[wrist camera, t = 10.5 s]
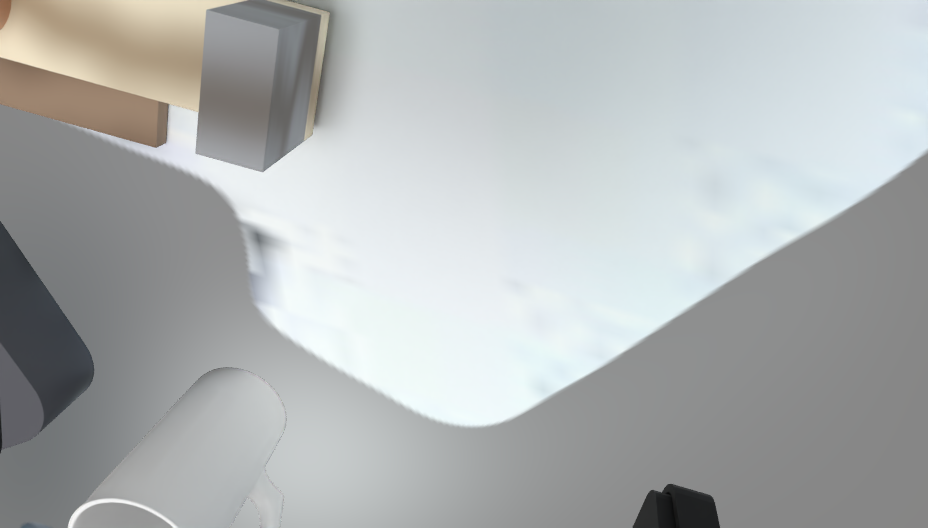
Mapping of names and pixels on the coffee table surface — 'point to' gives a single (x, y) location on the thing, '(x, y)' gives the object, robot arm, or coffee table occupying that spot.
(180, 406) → the mug
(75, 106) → the lane board
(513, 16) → the coffee table surface
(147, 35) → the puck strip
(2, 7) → the puck
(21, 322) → the streaming box
